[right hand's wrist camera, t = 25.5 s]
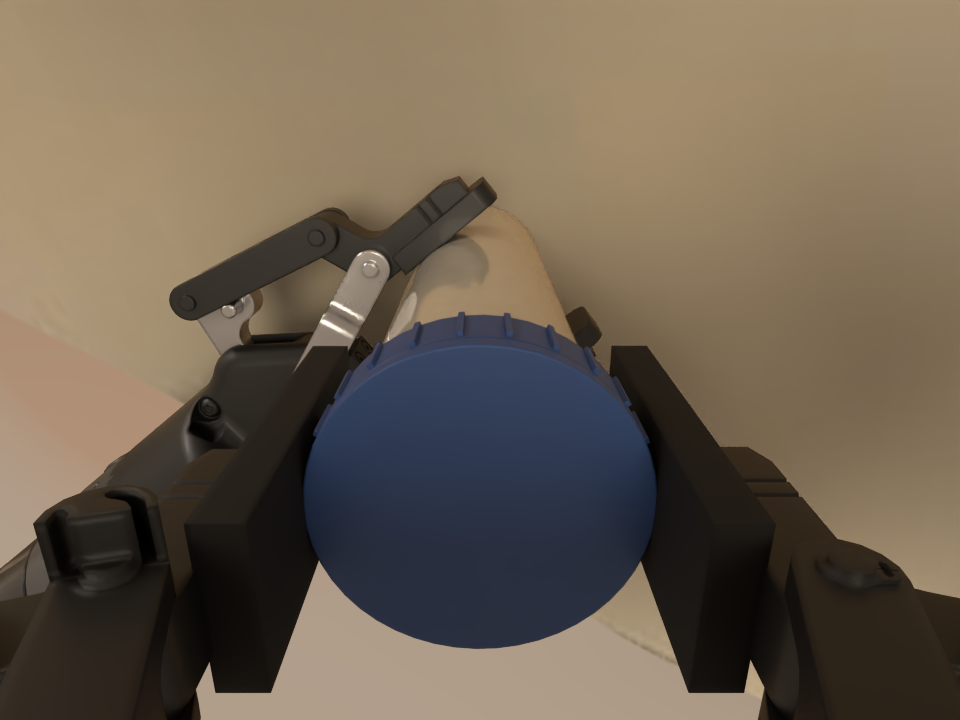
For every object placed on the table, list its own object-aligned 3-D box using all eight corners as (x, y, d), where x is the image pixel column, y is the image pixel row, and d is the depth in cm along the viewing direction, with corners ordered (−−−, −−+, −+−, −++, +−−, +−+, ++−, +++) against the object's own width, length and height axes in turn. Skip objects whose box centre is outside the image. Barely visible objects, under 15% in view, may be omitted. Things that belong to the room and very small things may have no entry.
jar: (561, 259, 28) (681, 466, 11) (485, 342, 29) (492, 635, 13) (473, 180, 27) (464, 282, 10) (398, 270, 28) (282, 490, 12)
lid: (689, 362, 11) (721, 399, 10) (577, 619, 13) (589, 682, 12) (360, 268, 11) (340, 293, 9) (293, 552, 13) (269, 610, 11)
